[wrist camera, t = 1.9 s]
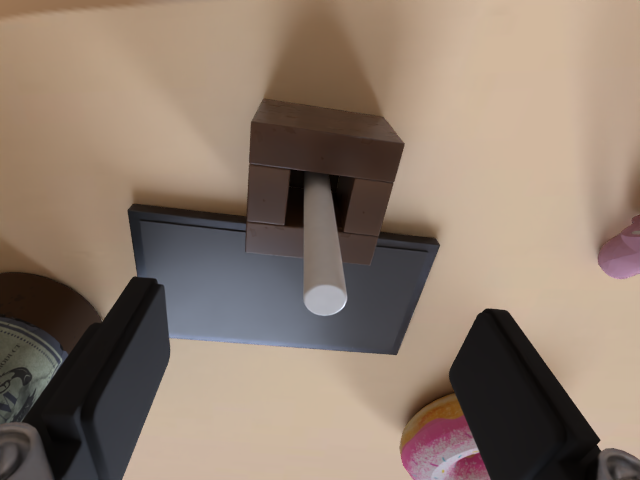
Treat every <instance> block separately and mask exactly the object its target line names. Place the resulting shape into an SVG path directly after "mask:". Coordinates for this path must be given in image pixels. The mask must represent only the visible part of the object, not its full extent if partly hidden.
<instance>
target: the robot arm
mask: <svg viewBox="0 0 640 480" xmlns="http://www.w3.org/2000/svg"><path fill="white" fill-rule="evenodd" d="M169 358H170V342H169V331H168V321H167V310H166V299H165V289H164V285H163V284H158V281H157V279H155V278H146V277H133V278H132V279H131V280H130V282H129V283H128V285H127V286H126V288H125V289H124V291H123V292H122V294H121V295H120V297H119V298H118V300H117V301H116V303H115V304H114V305H113V307H112V308H111V310H110V311H109V313H108V314H107V316H106V317H105V319H104V320H103V322H102V323H93V324H91V325H90V326H89V327H88V328H87V330H86V331H85V332H84V334H83V335H82V337H81V338H80V339H79V341H78V342H77V344H76V345H75V347H74V348H73V349H72V351H71V352H70V354H69V355H68V356H67V358H66V359H65V361H64V362H63V364H62V365H61V366H60V368H59V369H58V371H57V372H56V373H55V375H54V376H53V378H52V379H51V381H50V382H49V383H48V385H47V386H46V388H45V389H44V390H43V392H42V393H41V395H40V396H39V397H38V399H37V400H36V402H35V403H34V405H33V406H32V407H31V409H30V410H29V412H28V413H27V414H26V416H25V417H24V419H23V420H22V422H11V423H4V424H0V480H122V478H123V476H124V473H125V471H126V468H127V466H128V463H129V461H130V458H131V456H132V453H133V450H134V448H135V445H136V443H137V440H138V438H139V435H140V433H141V430H142V428H143V425H144V423H145V420H146V418H147V415H148V413H149V410H150V408H151V405H152V402H153V400H154V397H155V395H156V392H157V390H158V387H159V385H160V382H161V380H162V377H163V375H164V372H165V370H166V367H167V365H168V362H169ZM449 379H450V383H451V385H452V387H453V390H454V392H455V395H456V397H457V399H458V402H459V404H460V407H461V409H462V412H463V414H464V416H465V419H466V421H467V424H468V426H469V429H470V431H471V433H472V436H473V438H474V441H475V443H476V445H477V448H478V450H479V453H480V455H481V458H482V460H483V462H484V465H485V467H486V470H487V472H488V474H489V477H490V479H491V480H640V460H639V459H638V458H636V457H635V456H633V455H631V454H629V453H627V452H625V451H622V450H618V449H614V448H609V449H605V450H603V451H602V452H601V450H600V449H599V447H598V446H597V444H598V443H599V442H600V439H599V437H598V436H597V435H596V433H595V432H594V430H593V429H592V428H591V426H590V425H589V423H588V422H587V421H586V419H585V418H584V416H583V415H582V414H581V412H580V411H579V409H578V408H577V407H576V405H575V404H574V403H573V401H572V400H571V398H570V397H569V396H568V394H567V393H566V391H565V390H564V389H563V387H562V386H561V384H560V383H559V382H558V380H557V379H556V377H555V376H554V375H553V373H552V372H551V370H550V369H549V368H548V366H547V365H546V363H545V362H544V361H543V359H542V358H541V356H540V355H539V354H538V352H537V351H536V349H535V348H534V347H533V345H532V344H531V343H530V341H529V340H528V338H527V337H526V336H525V334H524V333H523V331H522V330H521V329H520V327H519V326H518V324H517V323H516V322H515V320H514V319H513V317H512V316H511V315H510V313H509V312H508V311H506V310H499V309H485V310H484V311H483V312H482V313H479V314H478V315H477V317H476V319H475V321H474V323H473V325H472V327H471V329H470V331H469V333H468V335H467V337H466V339H465V341H464V343H463V345H462V347H461V349H460V351H459V353H458V355H457V356H456V358H455V360H454V362H453V364H452V366H451V368H450V371H449Z"/></svg>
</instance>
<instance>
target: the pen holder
mask: <svg viewBox="0 0 640 480" xmlns="http://www.w3.org/2000/svg"><path fill="white" fill-rule="evenodd" d="M404 145H405V144H404V142H403V141H402V140H401V138H400V137H399V136H398V135H397V133H396V132H395V131H394V130H393V128H392V127H391V126H390V125H389V123H388V122H387V121H386V119H385V118H384V117H380V116H374V115H367V114H361V113H354V112H348V111H341V110H334V109H328V108H321V107H315V106H308V105H302V104H295V103H288V102H282V101H275V100H269V99H263V100H262V102H261V104H260V106H259V108H258V110H257V112H256V114H255V116H254V118H253V119H252V121H251V134H250V154H249V163H250V164H249V176H248V196H247V217H246V220H247V221H246V237H245V252H246V253H255V254H265V255H275V256H284V257H294V258H303V259H304V188H298V187H290V186H289V181H290V172H291V169H294V170H302V171H309V172H317V173H325V174H332V175H339V179H338V184H337V189H336V192H331V193H332V200H333V206H334V213H335V219H336V226H337V232H338V239H339V246H340V252H341V259H342V263H352V264H361V265H371V262H372V258H373V255H374V251H375V247H376V244H377V240H378V236H379V234H380V230H381V226H382V223H383V219H384V216H385V212H386V209H387V205H388V201H389V198H390V194H391V191H392V187H393V182H394V181H395V177H396V173H397V170H398V166H399V163H400V159H401V156H402V152H403V149H404Z"/></svg>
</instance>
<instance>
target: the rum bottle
mask: <svg viewBox="0 0 640 480" xmlns="http://www.w3.org/2000/svg"><path fill="white" fill-rule="evenodd" d="M93 323H102V321H101V319H100V317H99V315H98V313H97V312H96V311H95V309H94V308H93V307H92V306H91V304H90V303H89V302H88V301H86V300H85V299H84V298H83V297H82V296H80V295H79V294H78V293H76V292H75V291H73V290H72V289H70V288H68V287H66V286H65V285H63V284H60V283H58V282H56V281H53V280H51V279H48V278H45V277H41V276H37V275H32V274H26V273H0V424H4V423H11V422H22V420H23V419H24V417H25V416H26V414H27V413H28V412H29V410H30V409H31V407H32V406H33V405H34V403H35V402H36V400H37V399H38V397H39V396H40V395H41V393H42V392H43V390H44V389H45V388H46V386H47V385H48V383H49V382H50V381H51V379H52V378H53V376H54V375H55V373H56V372H57V371H58V369H59V368H60V366H61V365H62V364H63V362H64V361H65V359H66V358H67V356H68V355H69V354H70V352H71V351H72V349H73V348H74V347H75V345H76V344H77V342H78V341H79V339H80V338H81V337H82V335H83V334H84V332H85V331H86V330H87V328H88V327H89V326H90V325H91V324H93Z"/></svg>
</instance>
